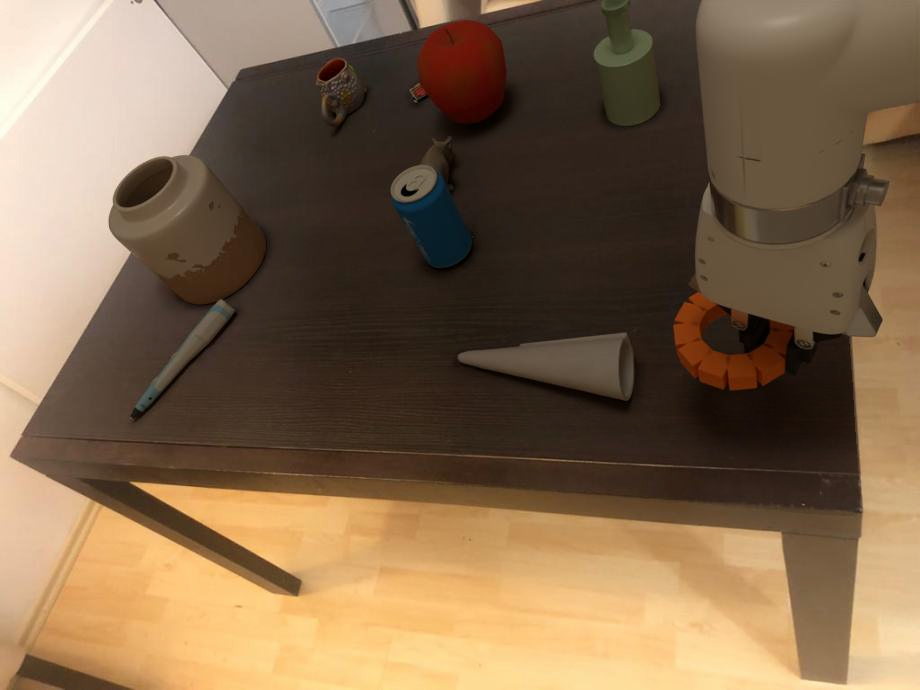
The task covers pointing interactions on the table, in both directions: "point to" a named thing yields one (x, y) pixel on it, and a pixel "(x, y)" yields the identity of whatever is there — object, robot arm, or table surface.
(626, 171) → the table surface
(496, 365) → the long tapered cone
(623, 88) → the bottle
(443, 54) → the apple
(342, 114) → the mug
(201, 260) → the vase
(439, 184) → the beverage can
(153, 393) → the pen
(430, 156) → the rhino figurine
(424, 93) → the matchbox
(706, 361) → the rubber ring
